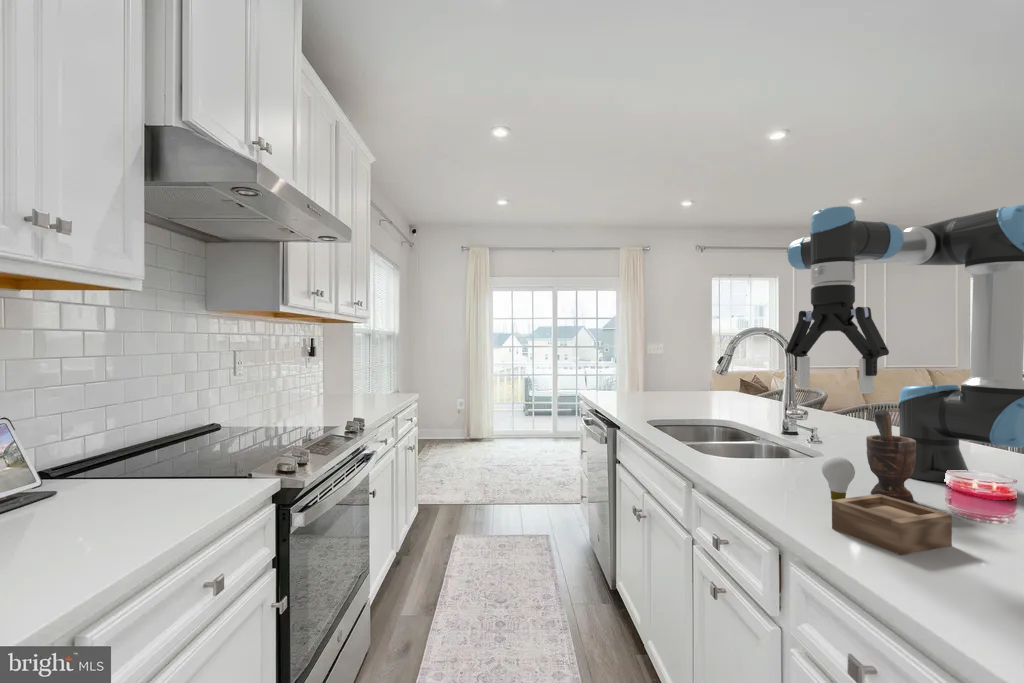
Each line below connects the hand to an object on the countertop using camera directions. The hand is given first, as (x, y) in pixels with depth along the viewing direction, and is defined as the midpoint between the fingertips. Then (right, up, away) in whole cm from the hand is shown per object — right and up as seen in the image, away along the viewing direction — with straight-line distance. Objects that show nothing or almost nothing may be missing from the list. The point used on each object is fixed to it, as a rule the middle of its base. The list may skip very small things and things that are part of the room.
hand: (832, 390), depth 99 cm
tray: (+1, -25, -13) cm, 28 cm away
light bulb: (+4, -25, +5) cm, 26 cm away
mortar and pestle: (+17, -25, +7) cm, 31 cm away
